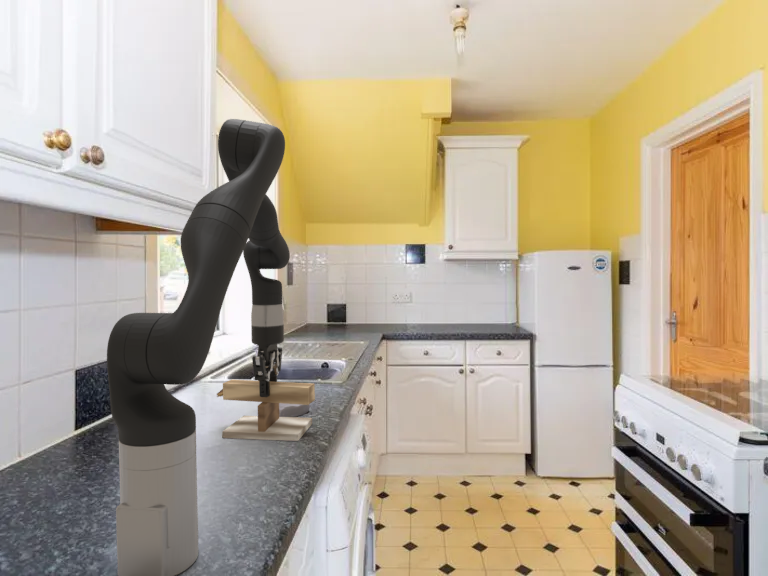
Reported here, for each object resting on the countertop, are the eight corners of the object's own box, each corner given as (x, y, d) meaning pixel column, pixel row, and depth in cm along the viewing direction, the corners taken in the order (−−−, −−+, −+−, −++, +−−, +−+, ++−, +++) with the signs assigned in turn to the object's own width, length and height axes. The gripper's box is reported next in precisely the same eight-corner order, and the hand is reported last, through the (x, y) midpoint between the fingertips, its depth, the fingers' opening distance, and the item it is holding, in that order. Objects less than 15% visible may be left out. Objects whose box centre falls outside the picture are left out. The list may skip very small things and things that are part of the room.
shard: (216, 398, 145) (216, 392, 145) (206, 393, 151) (206, 388, 150) (249, 392, 152) (249, 386, 152) (239, 387, 158) (238, 382, 158)
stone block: (254, 424, 125) (280, 423, 119) (252, 406, 126) (277, 404, 120) (287, 414, 135) (313, 413, 129) (285, 397, 135) (310, 395, 130)
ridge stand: (298, 441, 107) (297, 408, 107) (222, 438, 110) (221, 405, 109) (312, 423, 119) (311, 394, 119) (243, 421, 121) (243, 392, 121)
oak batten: (308, 404, 110) (308, 387, 109) (223, 399, 115) (222, 383, 114) (314, 400, 113) (314, 383, 113) (232, 395, 119) (231, 379, 118)
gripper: (272, 327, 106) (273, 402, 106) (292, 320, 120) (293, 387, 121) (240, 326, 107) (241, 401, 107) (263, 319, 121) (264, 386, 122)
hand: (268, 393), depth 114 cm, fingers open, 4 cm apart
